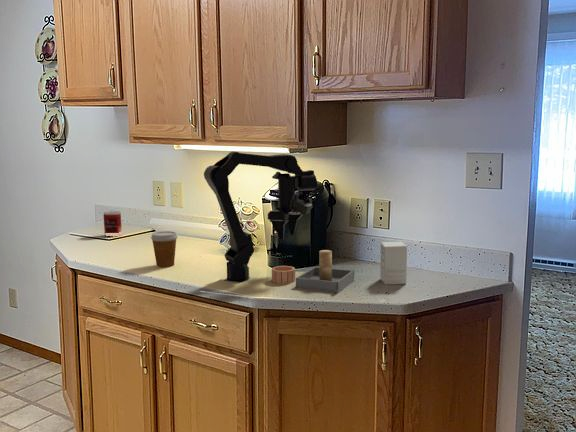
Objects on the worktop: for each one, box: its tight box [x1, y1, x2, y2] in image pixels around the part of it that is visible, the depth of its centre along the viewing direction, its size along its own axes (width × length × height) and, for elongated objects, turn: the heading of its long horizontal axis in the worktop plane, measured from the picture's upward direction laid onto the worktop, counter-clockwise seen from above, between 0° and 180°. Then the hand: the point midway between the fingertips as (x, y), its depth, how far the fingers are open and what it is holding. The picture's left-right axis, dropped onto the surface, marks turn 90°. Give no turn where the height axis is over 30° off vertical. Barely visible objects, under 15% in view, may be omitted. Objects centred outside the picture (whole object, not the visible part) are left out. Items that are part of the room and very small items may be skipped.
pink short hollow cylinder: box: [271, 265, 296, 285], centre depth 203 cm, size 8×8×4 cm
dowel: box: [318, 249, 333, 281], centre depth 199 cm, size 4×4×10 cm
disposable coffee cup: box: [150, 230, 178, 268], centre depth 227 cm, size 10×10×12 cm
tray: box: [295, 266, 355, 294], centre depth 199 cm, size 14×16×4 cm
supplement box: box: [379, 241, 408, 285], centre depth 202 cm, size 7×7×13 cm
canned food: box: [103, 210, 122, 234], centre depth 286 cm, size 8×8×11 cm
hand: (287, 237), depth 211 cm, fingers open, 9 cm apart
